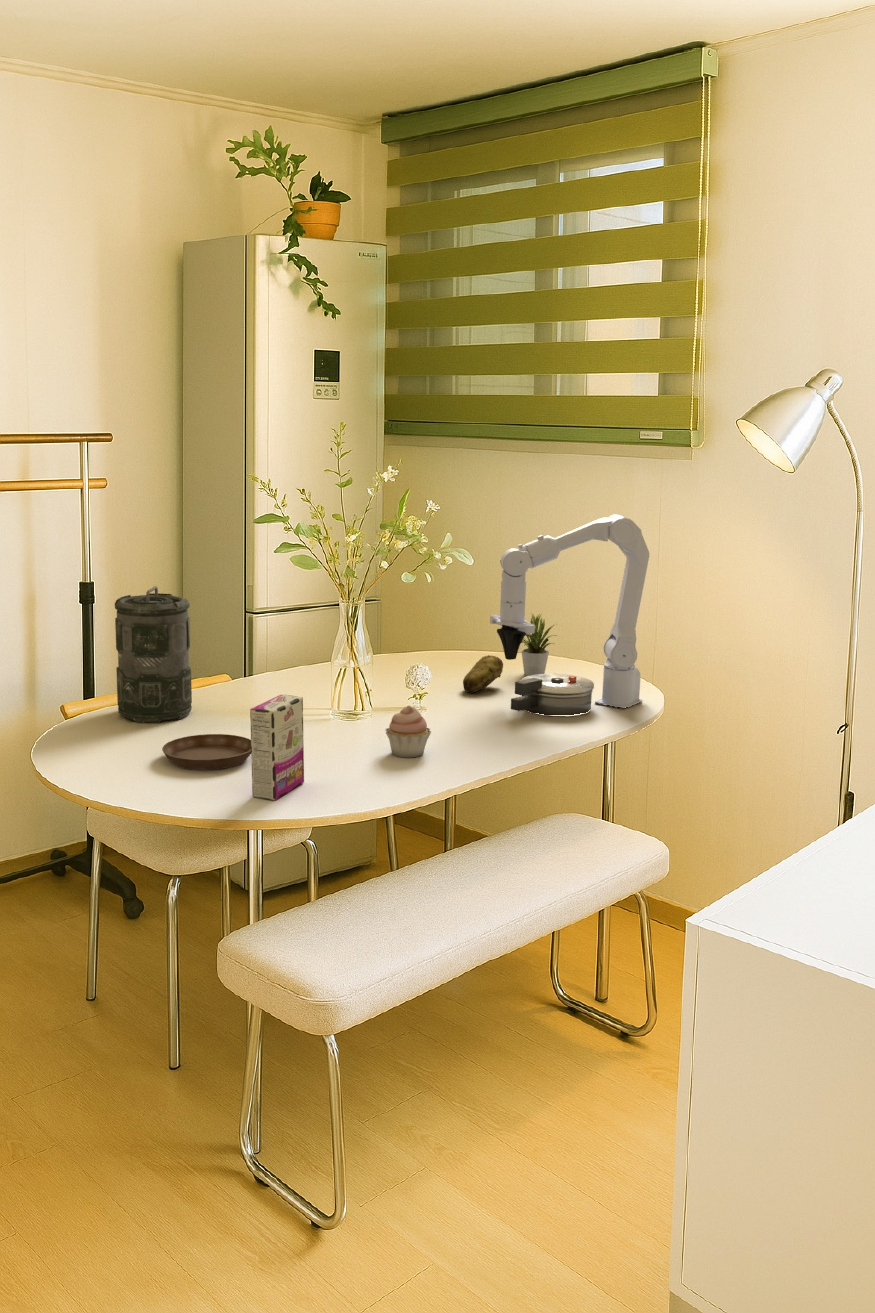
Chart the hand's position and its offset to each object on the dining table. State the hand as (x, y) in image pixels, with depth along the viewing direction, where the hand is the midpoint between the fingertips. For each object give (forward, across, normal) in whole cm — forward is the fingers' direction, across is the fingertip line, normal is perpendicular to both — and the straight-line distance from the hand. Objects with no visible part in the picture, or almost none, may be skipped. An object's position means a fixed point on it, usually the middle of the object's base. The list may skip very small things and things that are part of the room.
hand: (510, 658), depth 278 cm
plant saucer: (+11, +7, -78) cm, 79 cm away
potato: (+11, -13, +2) cm, 17 cm away
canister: (+11, -29, -75) cm, 81 cm away
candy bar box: (+11, +30, -75) cm, 82 cm away
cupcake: (+11, +23, -43) cm, 50 cm away
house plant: (+11, -21, +23) cm, 33 cm away
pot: (+10, +10, +4) cm, 15 cm away
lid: (+5, +10, +4) cm, 12 cm away
